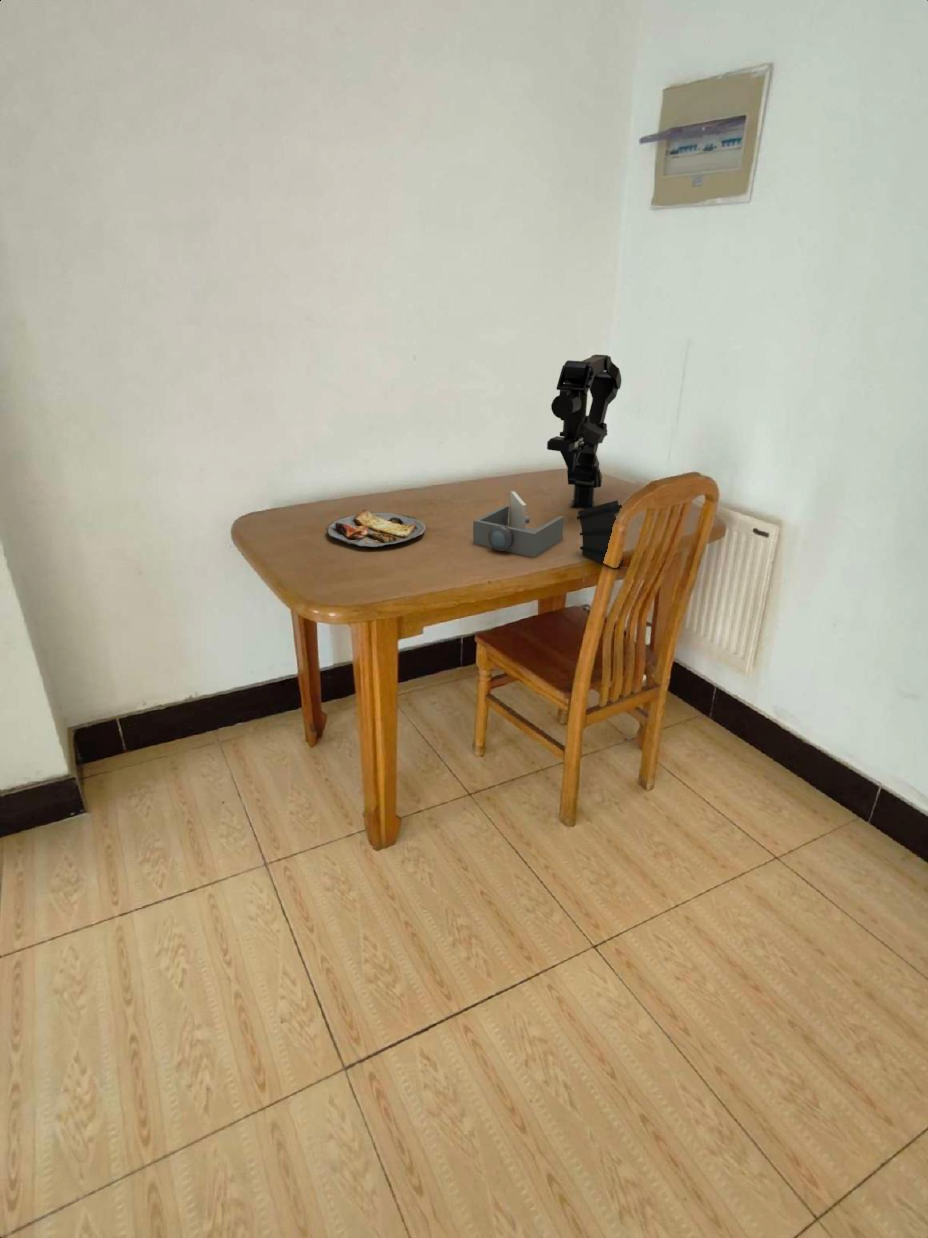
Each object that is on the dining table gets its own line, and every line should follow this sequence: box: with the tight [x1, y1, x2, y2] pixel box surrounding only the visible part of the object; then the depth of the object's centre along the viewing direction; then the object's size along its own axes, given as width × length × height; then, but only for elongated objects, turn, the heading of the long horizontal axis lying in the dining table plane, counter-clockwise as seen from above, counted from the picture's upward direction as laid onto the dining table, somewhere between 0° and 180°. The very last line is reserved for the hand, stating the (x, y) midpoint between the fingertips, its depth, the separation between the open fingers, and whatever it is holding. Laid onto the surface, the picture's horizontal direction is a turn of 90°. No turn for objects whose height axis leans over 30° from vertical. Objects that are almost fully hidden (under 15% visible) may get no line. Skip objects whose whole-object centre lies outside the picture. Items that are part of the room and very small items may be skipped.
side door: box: [508, 490, 531, 530], centre depth 184 cm, size 13×2×9 cm, turn 10°
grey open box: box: [472, 505, 565, 559], centre depth 181 cm, size 18×17×7 cm
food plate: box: [326, 509, 426, 548], centre depth 187 cm, size 25×23×4 cm
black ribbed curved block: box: [576, 499, 624, 568], centre depth 169 cm, size 4×13×15 cm, turn 36°
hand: (571, 471), depth 194 cm, fingers closed
